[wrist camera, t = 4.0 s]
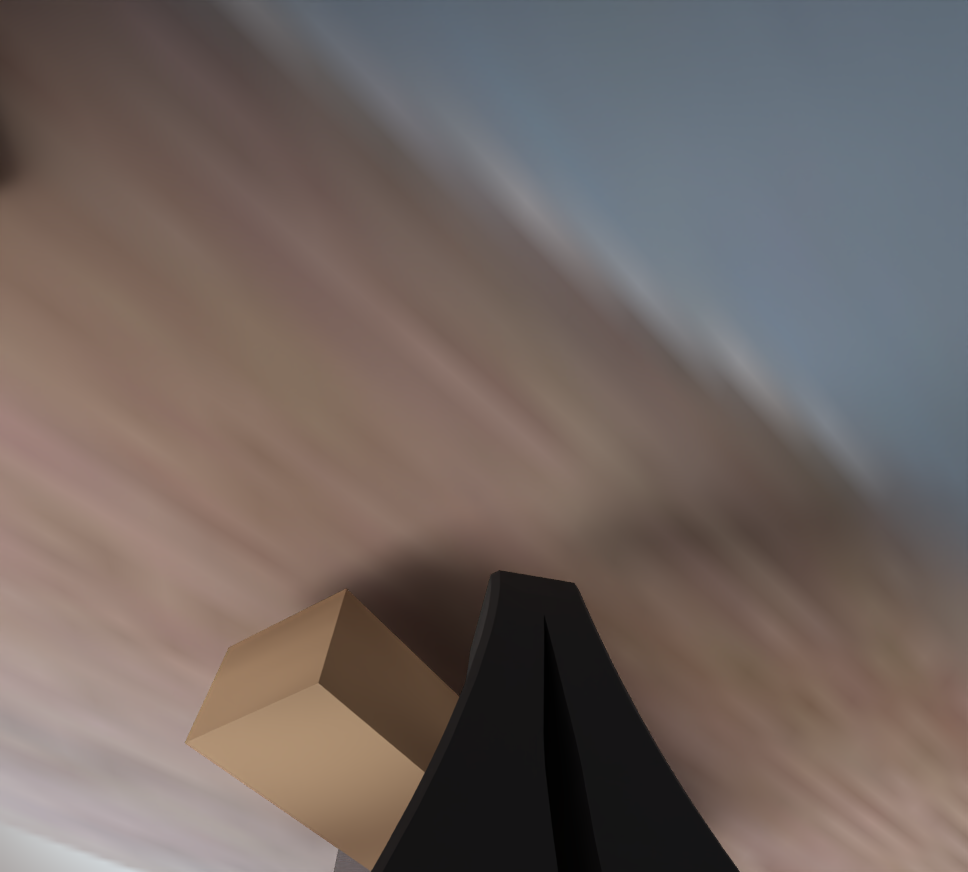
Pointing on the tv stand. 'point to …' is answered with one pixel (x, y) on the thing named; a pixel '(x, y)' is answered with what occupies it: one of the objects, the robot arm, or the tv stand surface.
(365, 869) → the block
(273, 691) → the link
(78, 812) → the tv stand surface
